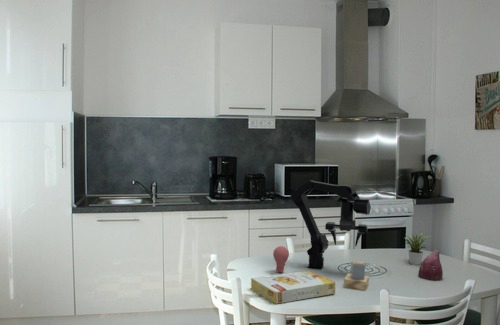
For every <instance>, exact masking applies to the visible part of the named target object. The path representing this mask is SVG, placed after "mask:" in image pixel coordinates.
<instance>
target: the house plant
mask: <svg viewBox="0 0 500 325" xmlns="http://www.w3.org/2000/svg"><path fill="white" fill-rule="evenodd" d="M410 234H411V237H412V238H413V239H412V238H411V237H410V236H409V235H407V234H406V233H405V234H404V235H406V236H407V237H406V236H405V237H404V239H405V241H406V243H404V245H405V244H406V245H408V246H407V247H408V248H410V249H409V250H408V260H409V264H410V265H415V266H421V264H422V261H423V255H424V251H423V250H422V249H427V248H428V247H429V246H428V245H427V244H423V243H424V241H425V240H427V239H428V238H430V237H432V235H429V236H426V235H425V234H424V233H423V232H422V233H420V235H419V236H418V234H417V233H415V235H414V233H413V232H410ZM423 234H424V235H423ZM422 244H423V245H422ZM427 246H428V247H427Z"/></svg>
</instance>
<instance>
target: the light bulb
mask: <svg viewBox="0 0 500 325" xmlns="http://www.w3.org/2000/svg"><path fill="white" fill-rule="evenodd" d="M272 255H273V259H274V261H275V264H276V267H275V271H276V272H277V273H283V272H284V271H285V266H286V263H287V261H288V258H290V253H289V250H288V248H286V246H281V245H280V246H277V247H275V249H274V250H273V253H272Z"/></svg>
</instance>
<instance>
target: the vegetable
mask: <svg viewBox="0 0 500 325" xmlns="http://www.w3.org/2000/svg"><path fill="white" fill-rule="evenodd" d="M440 260H441V258H440V249H439V248H438V249H434V250H433V251H432V252H431V253H429V255H427V256H426V257H425V258H424V259H422V261H421V264H420V265H419V269H418V273H417V276H418V278H420V279H423V280H427V281H432V282H439V281H441V280H443V275H444V274H443V267H442V264H441V261H440Z"/></svg>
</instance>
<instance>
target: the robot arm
mask: <svg viewBox="0 0 500 325" xmlns="http://www.w3.org/2000/svg"><path fill="white" fill-rule="evenodd" d="M312 191H320V192H324V193H325V192H326V193H331V194H335V195H337V196H338V197H339V198H338V199H336V202H337V203H340V218H339V219H340V220H339V224H336V222H334V221H327V222H326V223H325V226H324V229H325V230H327V231H328V232H330V234H331V236H332V240H333V243H334V245H335V246H336V245H337V231H336V230H337V229H339V230H340V231H345V232H346V231H347V232H351V230H352V231H354V230H355V231H357V232H356V239H355V244H354V245H355V247H357V245H358V242H359V241H360V239H361V236H362V235H364V234H366V233H368V225H367V224H360V223H359V224H358V225H356V220H354V212H355V213H356V214H361V215H368V216H369V215H370V213H371V211H372V206H371V202H370V199H369V198H364V199H363V198H360V196H359V195H358V193H357V191H356V187H355V186H354V185H352V184H332V183H327V182H321V181H315V180H308V181H306V182H305V183H304V184H302V185H301V186H299V187H297V188H296V189H293V190H291V192H290V194H289V195H290V199H291V201H292V202H293V204H294V205H295V206H296V207H297V208H298V209H299V212H300V214H301V216H302V218H303V221H304V224H305V226H306V228H307V230H308V234H309V235H310V245H311V247H310V248H309V249H308V250H306V254H307V256H308V266H307V268H308V269H317V270H321V269H323V267H324V263H325V257H324V253H325V251H326V250H327V249H328V247H329V242H330V241H329V240H328V238H327V235H326V234H325V233H324V234H322V233H321V232H320V229H319V227H318V225H317V223H316V221H315V218H314V216H313V214H312V211H311V209H310V207H309V198H308V194H310V193H311V192H312Z"/></svg>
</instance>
